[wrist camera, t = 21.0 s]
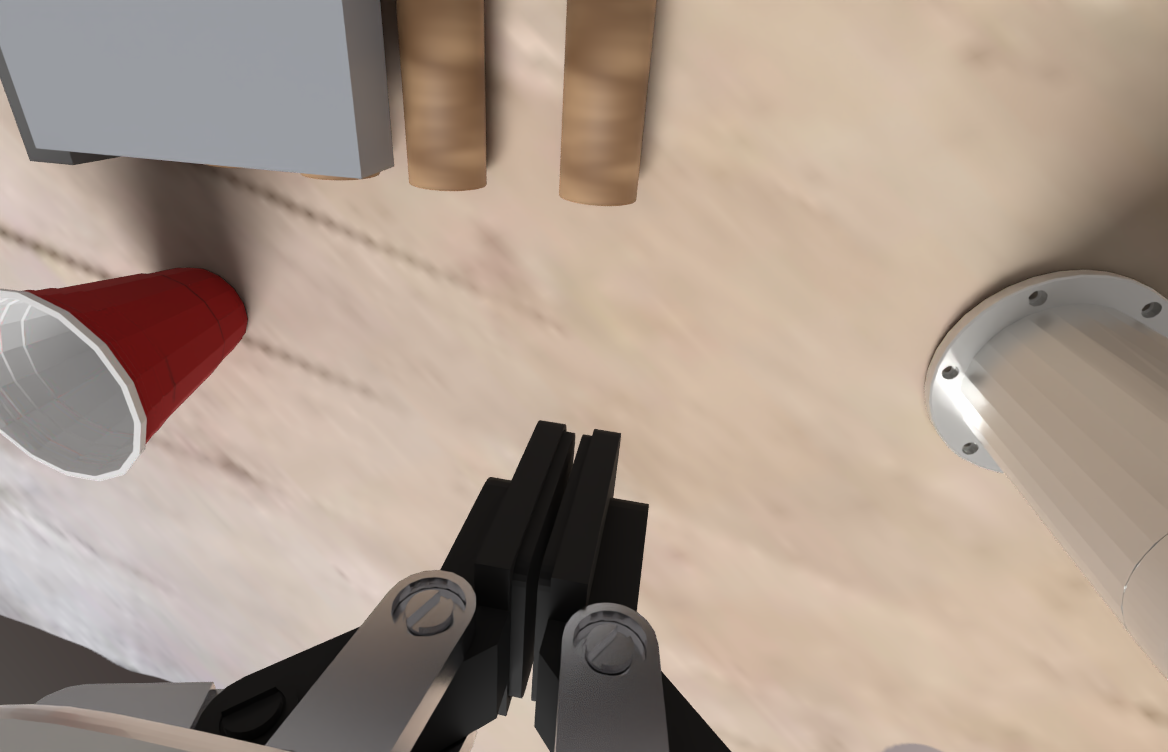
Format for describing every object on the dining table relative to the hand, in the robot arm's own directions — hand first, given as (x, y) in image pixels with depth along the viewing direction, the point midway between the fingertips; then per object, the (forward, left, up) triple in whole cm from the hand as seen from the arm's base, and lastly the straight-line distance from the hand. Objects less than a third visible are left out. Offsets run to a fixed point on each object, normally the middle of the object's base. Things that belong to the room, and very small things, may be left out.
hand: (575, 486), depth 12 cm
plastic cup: (+28, +9, -24) cm, 38 cm away
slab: (+20, -7, -20) cm, 29 cm away
